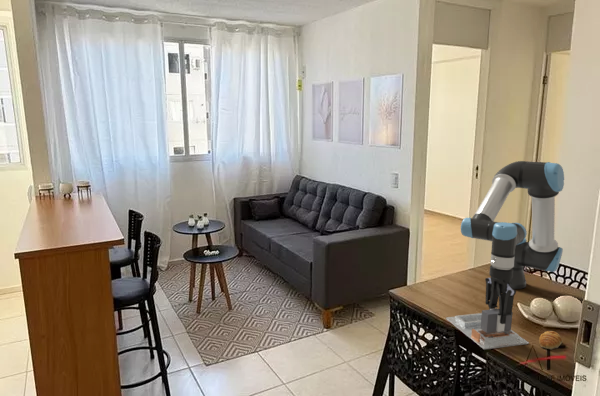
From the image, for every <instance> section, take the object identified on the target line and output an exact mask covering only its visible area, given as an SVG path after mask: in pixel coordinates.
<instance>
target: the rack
mask: <svg viewBox="0 0 600 396" xmlns="http://www.w3.org/2000/svg"><path fill="white" fill-rule="evenodd" d="M481 316H482V312H480V313H478V312H477V313H468V314H460V315H454V316H447V317H445V320H447V321H448V322H450V323H451V324H452V325H453V326H454V327H455V328H457V329H458V330H460V332H462V333H463V334H464V335H465V336H466V337H468V338H469V339H471V340H472V341H473V342H474V343H476V344H477V345H478V346H479V347H480V348H482V349H483V350H484V351H485V350H491V349H499V348H509V347H514V346H522V345H529V344H530V343H529V341H528V340H526V339H525V338H523V337H521V336H520V335H519V334H518V333H517V332H515V331H514V330H513V329H511V330H510V331H500V332H491V333H486V332H485V331H483V330H482V329H480V327H481Z"/></svg>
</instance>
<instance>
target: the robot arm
mask: <svg viewBox="0 0 600 396" xmlns="http://www.w3.org/2000/svg"><path fill="white" fill-rule="evenodd" d="M564 173H565V172H564V168H563V167H562V165H561V164H559V163H557V162H556V163H555V162H550V161H546V162H545V161H544V162H541V161H526V160H519V161H514V162H510V163H508V164H506V165H505V166H503V167H502V168H500V170H498V171H497V172H496V173H495V174H494V176H493V177H492V180H491V186H490V187H489V189H488V191H487V193H486V194H485V196H484V198H483V199H482V201H481V203H480V205H478V208H477V210H476V211H475V213H474V214H473V216H472V217H465V218H463V219H462V221H461V224H460V232H461V235H462V236H464V237H467V238H471V239H475V240H483V241H488V242H491V252H490V255H491V256H490V266H489V273H488V274H489V276H490V277H485V305H488V310H492V309H499V313H498V316H497V327H496V331H497V332H500V331H504V327H505V323H506V316H508V315H511V314H512V312H513V305H514V301H515V295H516V294H517V291H516V290H521V289H522V290H523V289H525V288H526V287H527V280H526V276H525V272H524V268H525V267H526V268H531V269H535V270H541V271H544V272H550V273H551V272H552V273H554V272H556V271H557V270H558V268H559V267H560V264H561V263H560V262H561V260H562V256H563V252H564V250H563V248H562V247H561V246H559V243H558V241H557V240H556V239H555V218H556V217H555V214H556V213H555V205H556V204H555V197H557V196H558V195H559V194H560V192H562V191H563V189H564V185H565V174H564ZM515 189H527V194H528V196H529V197H531V222H532V223H531V228H532V232H531V233H532V234H531V235H532V236H531V237H532V238H531V239H529V241H527V238H526V237H527V234H528V233H527V229H526V227H525V226H524V225H523V224H522V223H520V222H505V221H504V222H503V221H502V222H501V221H500V222H499V221H495V220H496V219H497V216H498V214H499V213H500V211H501V209H502V207H503V206H504V204H505V201H506V200H507V198H508V196H509V195H510V193H512V192H514V191H515ZM512 315H513V314H512Z"/></svg>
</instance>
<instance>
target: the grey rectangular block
mask: <svg viewBox="0 0 600 396" xmlns="http://www.w3.org/2000/svg"><path fill="white" fill-rule="evenodd" d="M481 313H482V316H481V327H480V329H482V330H483V331H485V332H486V333H491V332H497V331H496V327H497V316H498V313H499V308H497V309H492V310H489V309H483V310H481ZM513 314H514V312H513V311H512V314H511V315H508V316H506V323H505V327H504V331H510V330H512V322H513Z"/></svg>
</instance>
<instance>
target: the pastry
mask: <svg viewBox="0 0 600 396" xmlns="http://www.w3.org/2000/svg"><path fill="white" fill-rule="evenodd" d="M563 342H564V341H563V339H562V337H561V335H560V334H559V333H558V332H556V331H553V330H547V331H544V333H541V334H540V336H539V339H538V343H539V346H540V347H541V348H544V349H546V350H547V349H548V350H554V349H558V348H559V347H560V346H561V345H562V343H563Z"/></svg>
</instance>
